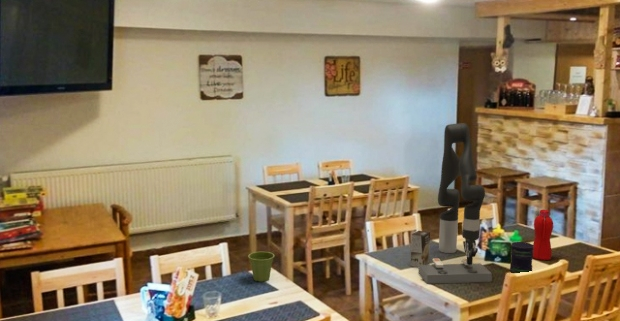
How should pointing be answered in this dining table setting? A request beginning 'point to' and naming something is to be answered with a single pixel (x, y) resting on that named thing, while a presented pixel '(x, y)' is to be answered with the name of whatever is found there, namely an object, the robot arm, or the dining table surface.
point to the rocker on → (465, 261)
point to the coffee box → (420, 248)
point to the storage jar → (521, 257)
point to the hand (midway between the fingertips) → (469, 264)
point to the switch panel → (454, 273)
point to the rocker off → (437, 262)
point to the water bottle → (542, 236)
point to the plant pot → (261, 265)
